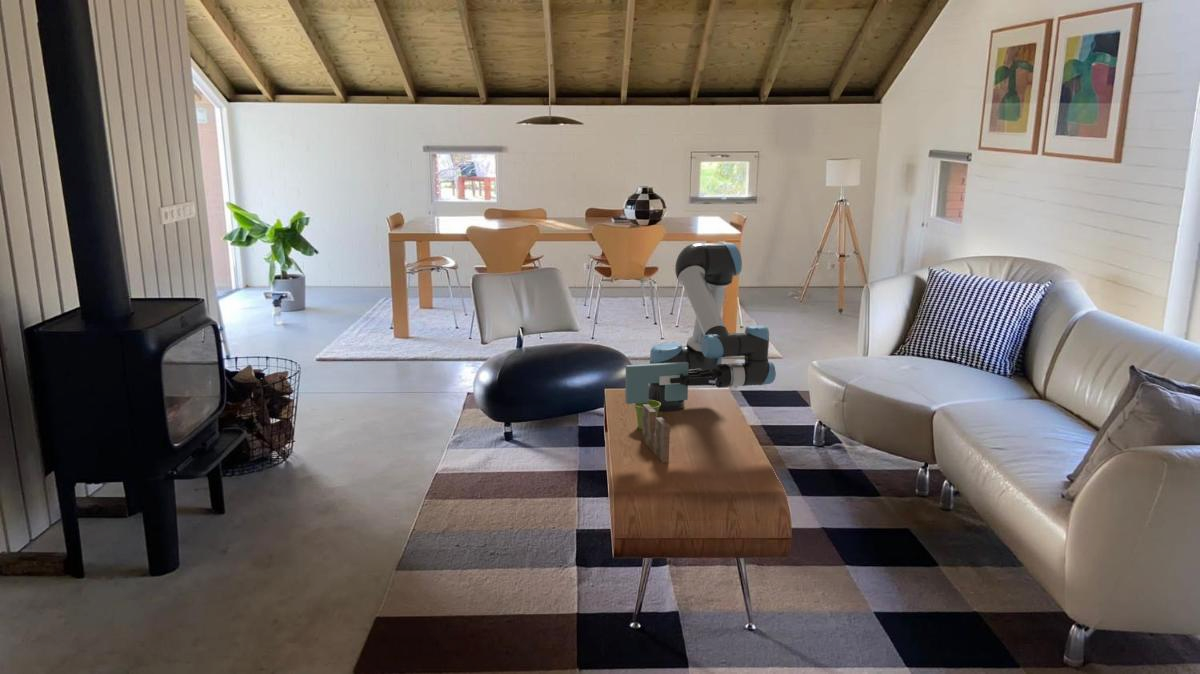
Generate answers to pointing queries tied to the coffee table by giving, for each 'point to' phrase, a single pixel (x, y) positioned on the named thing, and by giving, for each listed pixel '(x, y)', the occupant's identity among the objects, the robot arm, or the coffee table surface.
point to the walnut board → (655, 433)
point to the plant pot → (639, 410)
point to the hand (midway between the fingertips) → (658, 379)
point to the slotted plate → (654, 381)
